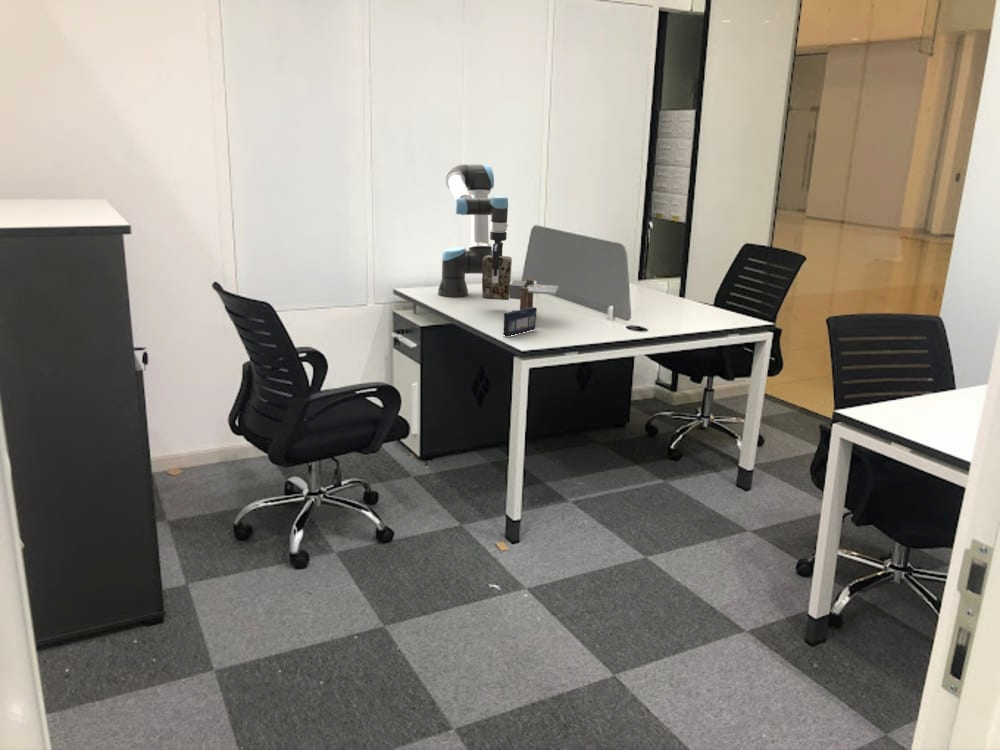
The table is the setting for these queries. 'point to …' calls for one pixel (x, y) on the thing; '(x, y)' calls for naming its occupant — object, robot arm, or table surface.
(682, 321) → the table surface
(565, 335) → the table surface
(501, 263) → the stone block
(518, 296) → the trapdoor plate
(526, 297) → the trapdoor stand
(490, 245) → the robot arm
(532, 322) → the vhs cassette tape
